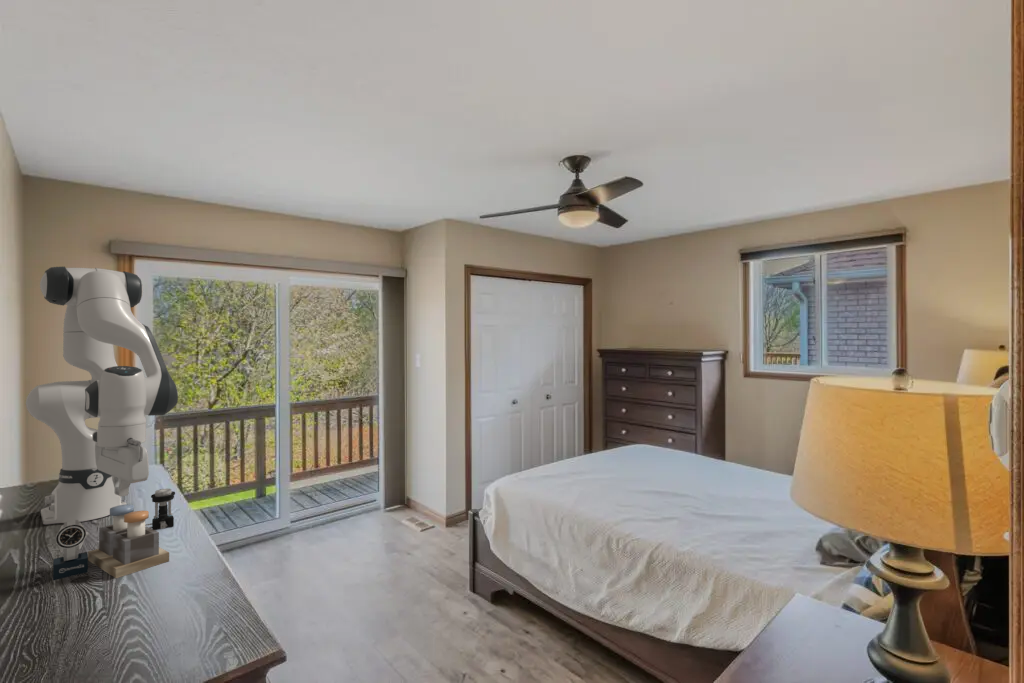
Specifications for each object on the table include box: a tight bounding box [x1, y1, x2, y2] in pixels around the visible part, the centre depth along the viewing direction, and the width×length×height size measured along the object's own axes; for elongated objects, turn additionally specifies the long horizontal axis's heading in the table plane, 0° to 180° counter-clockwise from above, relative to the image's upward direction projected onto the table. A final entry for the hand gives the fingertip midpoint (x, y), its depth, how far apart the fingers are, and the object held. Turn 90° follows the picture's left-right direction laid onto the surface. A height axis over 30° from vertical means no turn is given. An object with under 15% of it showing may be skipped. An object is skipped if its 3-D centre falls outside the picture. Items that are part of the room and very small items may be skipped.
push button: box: [145, 488, 176, 531], centre depth 133 cm, size 7×5×10 cm
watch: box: [52, 520, 90, 581], centre depth 106 cm, size 6×8×11 cm
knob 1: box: [109, 503, 135, 531], centre depth 115 cm, size 4×4×9 cm
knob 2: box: [124, 510, 149, 539], centre depth 110 cm, size 4×4×9 cm
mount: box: [87, 524, 170, 579], centre depth 112 cm, size 16×10×7 cm, turn 57°
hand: (121, 494), depth 115 cm, fingers closed
